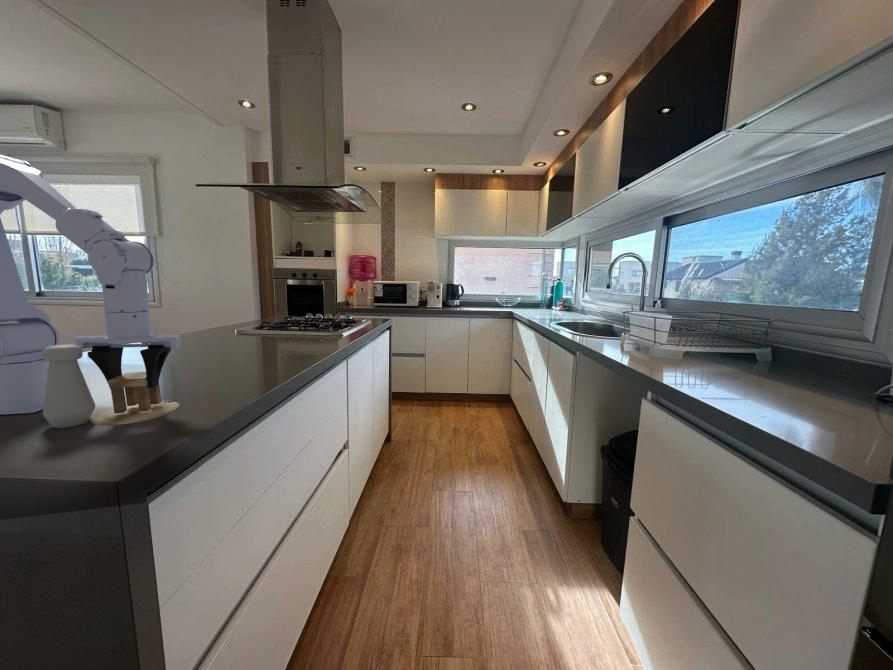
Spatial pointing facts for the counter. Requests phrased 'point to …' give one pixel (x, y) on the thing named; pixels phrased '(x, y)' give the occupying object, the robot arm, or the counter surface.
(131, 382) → the stool
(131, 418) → the trivet
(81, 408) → the salt shaker
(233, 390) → the counter surface
